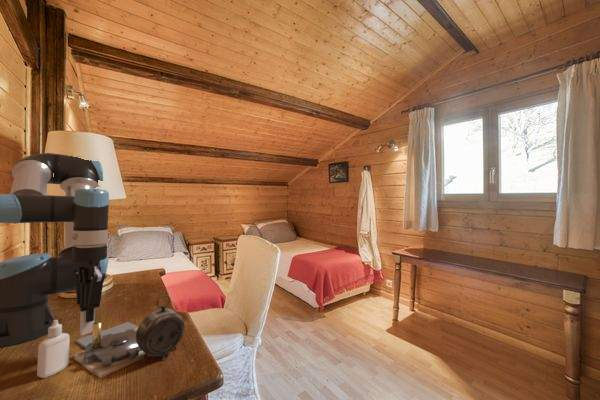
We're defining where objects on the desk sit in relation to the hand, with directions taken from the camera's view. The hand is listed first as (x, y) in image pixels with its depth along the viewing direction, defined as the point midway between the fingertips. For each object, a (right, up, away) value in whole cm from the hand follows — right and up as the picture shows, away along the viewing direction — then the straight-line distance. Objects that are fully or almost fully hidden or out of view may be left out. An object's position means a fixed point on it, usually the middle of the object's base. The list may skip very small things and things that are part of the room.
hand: (87, 332), depth 71 cm
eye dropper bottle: (-1, -5, -9) cm, 10 cm away
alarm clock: (+21, -6, -2) cm, 22 cm away
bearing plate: (+9, -5, -1) cm, 11 cm away
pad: (0, -5, +8) cm, 10 cm away
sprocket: (+9, -4, -1) cm, 10 cm away
